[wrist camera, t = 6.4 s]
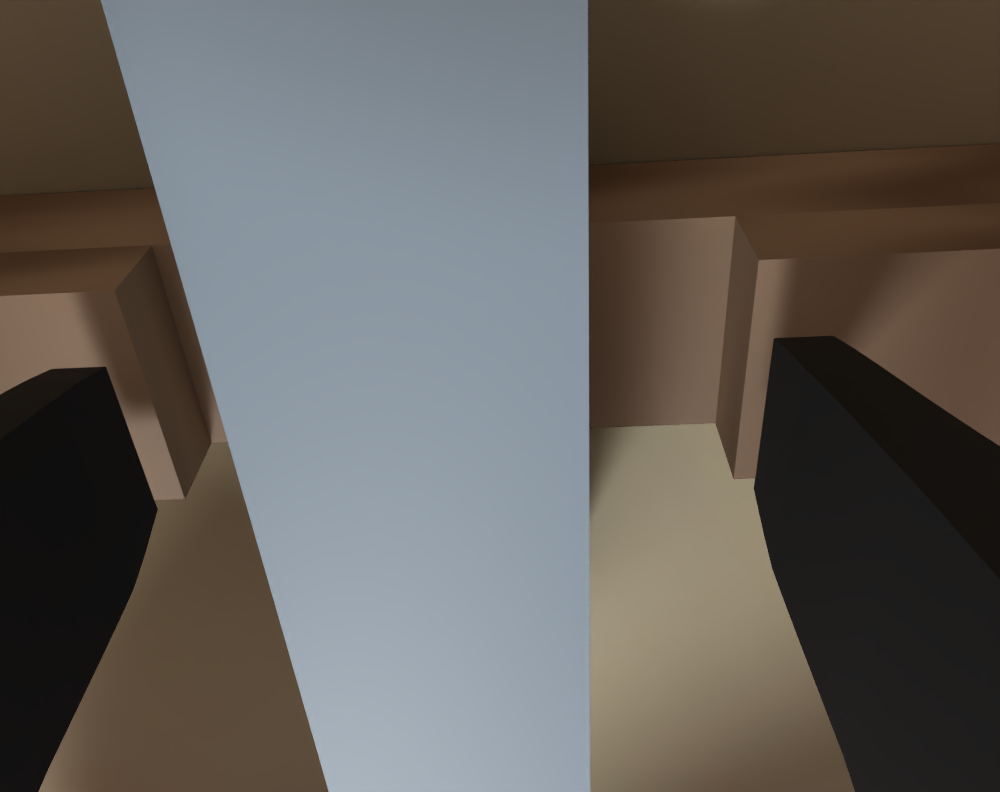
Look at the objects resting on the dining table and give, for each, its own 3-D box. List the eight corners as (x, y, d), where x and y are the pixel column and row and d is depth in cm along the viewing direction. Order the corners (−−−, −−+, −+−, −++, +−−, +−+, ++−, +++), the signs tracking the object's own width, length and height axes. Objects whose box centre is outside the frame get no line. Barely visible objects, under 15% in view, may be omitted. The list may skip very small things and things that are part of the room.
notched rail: (1196, 133, 12) (1394, 230, 9) (1121, 329, 13) (1271, 459, 11) (-247, 209, 13) (-450, 317, 10) (-149, 384, 14) (-300, 516, 12)
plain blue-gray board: (550, -207, 10) (588, -215, 5) (567, 570, 16) (590, 903, 11) (282, -188, 10) (49, -179, 5) (408, 576, 17) (361, 907, 12)
